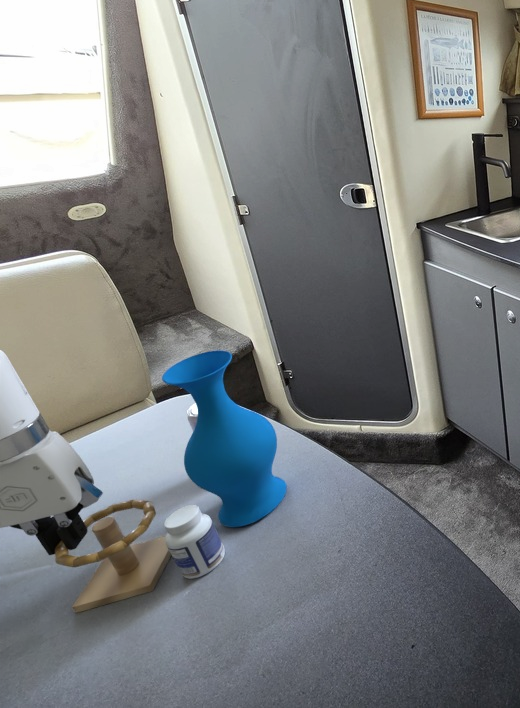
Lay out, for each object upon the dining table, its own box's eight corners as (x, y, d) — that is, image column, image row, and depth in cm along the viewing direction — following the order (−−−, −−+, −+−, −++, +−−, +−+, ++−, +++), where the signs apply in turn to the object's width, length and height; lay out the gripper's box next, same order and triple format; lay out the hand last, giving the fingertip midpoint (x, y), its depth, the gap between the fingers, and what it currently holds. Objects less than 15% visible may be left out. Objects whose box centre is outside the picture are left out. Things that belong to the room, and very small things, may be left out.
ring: (37, 579, 64) (33, 572, 64) (86, 515, 74) (82, 509, 73) (134, 554, 67) (130, 548, 67) (169, 496, 77) (166, 490, 76)
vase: (301, 467, 92) (256, 337, 81) (284, 522, 81) (229, 380, 70) (227, 486, 89) (169, 353, 78) (198, 546, 77) (127, 400, 67)
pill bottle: (222, 540, 78) (201, 494, 75) (229, 562, 75) (207, 515, 71) (180, 563, 75) (155, 516, 71) (184, 587, 71) (159, 539, 67)
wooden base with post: (75, 613, 68) (41, 562, 65) (111, 556, 76) (83, 508, 73) (153, 590, 71) (124, 540, 67) (180, 538, 79) (156, 490, 75)
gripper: (-107, 480, 57) (-24, 587, 64) (61, 443, 61) (122, 548, 68) (-52, 437, 64) (18, 539, 70) (97, 407, 68) (149, 506, 75)
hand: (69, 543), depth 69 cm, fingers closed on ring, 1 cm apart
